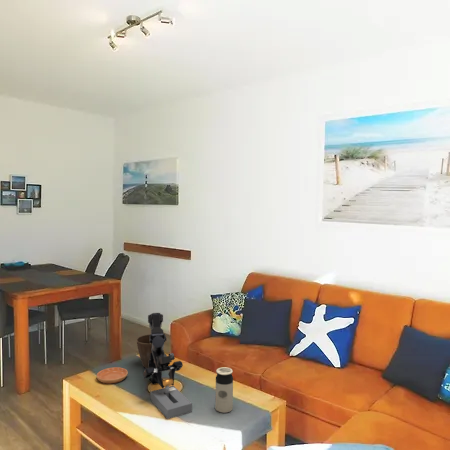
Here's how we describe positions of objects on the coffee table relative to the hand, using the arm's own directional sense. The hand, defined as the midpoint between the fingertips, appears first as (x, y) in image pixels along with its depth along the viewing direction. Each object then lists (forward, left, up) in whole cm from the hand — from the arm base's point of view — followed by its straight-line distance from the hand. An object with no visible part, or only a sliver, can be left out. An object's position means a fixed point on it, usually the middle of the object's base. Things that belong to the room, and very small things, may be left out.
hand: (168, 386), depth 187 cm
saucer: (-39, -15, -8) cm, 43 cm away
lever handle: (-1, 0, -7) cm, 7 cm away
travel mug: (+18, +20, -8) cm, 28 cm away
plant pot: (-44, +8, -8) cm, 46 cm away
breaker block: (+3, 0, -8) cm, 8 cm away
